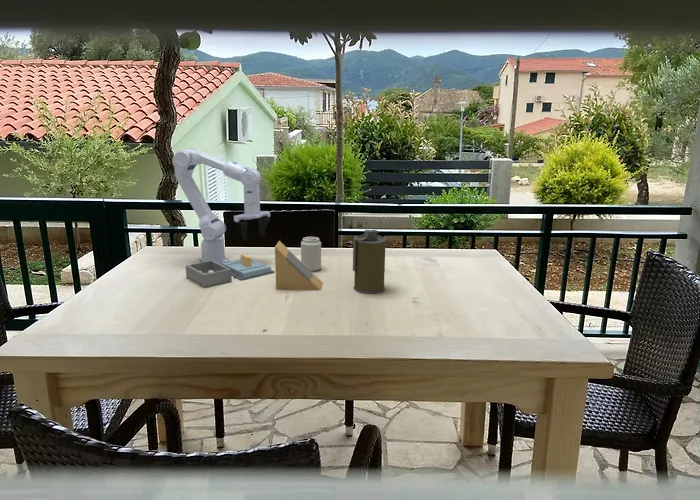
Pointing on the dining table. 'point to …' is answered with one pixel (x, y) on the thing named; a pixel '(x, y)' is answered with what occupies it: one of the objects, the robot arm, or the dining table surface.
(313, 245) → the can
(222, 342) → the dining table surface
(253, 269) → the lid
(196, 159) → the robot arm
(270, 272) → the mat
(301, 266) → the sandwich container
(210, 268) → the parts tub
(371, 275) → the canister
